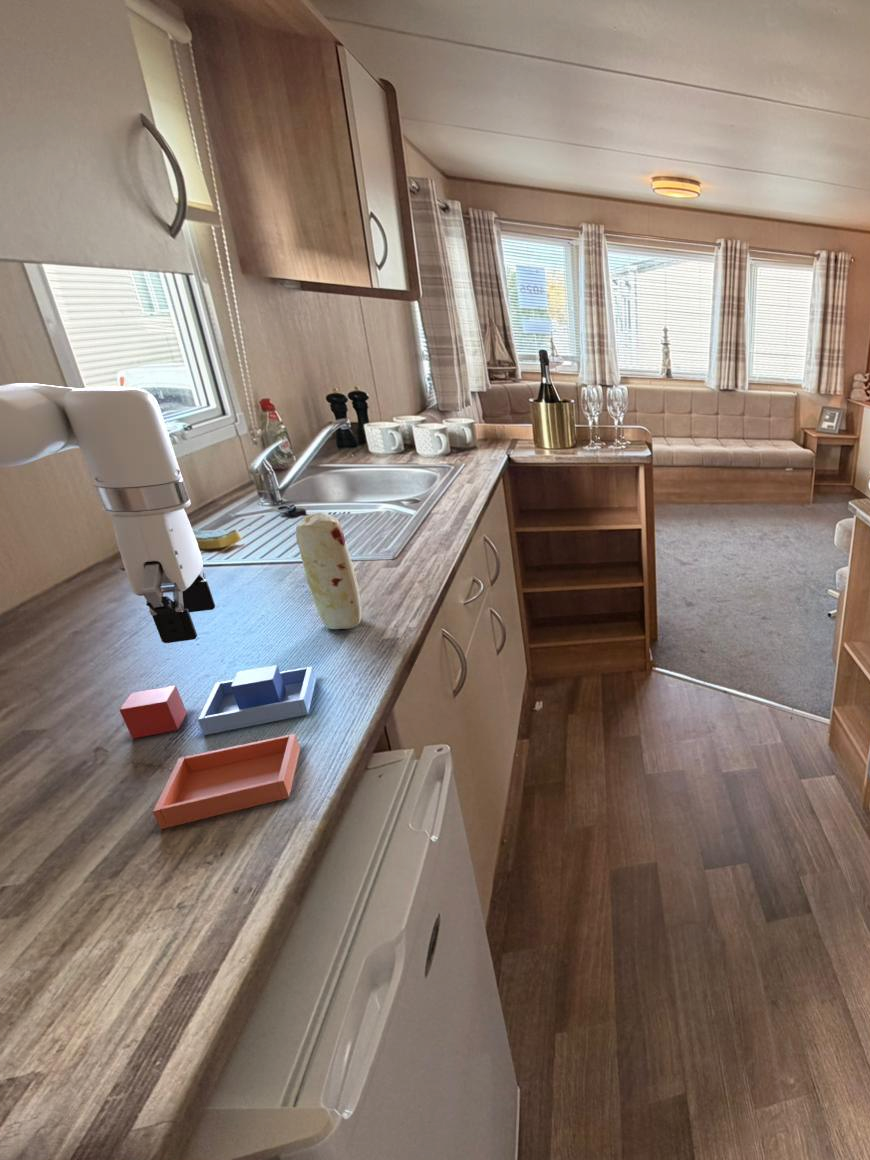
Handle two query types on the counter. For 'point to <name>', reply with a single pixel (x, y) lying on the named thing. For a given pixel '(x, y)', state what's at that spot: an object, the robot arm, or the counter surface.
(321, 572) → the food model
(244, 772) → the red tray
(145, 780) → the counter surface
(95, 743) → the counter surface
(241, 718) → the blue tray
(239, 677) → the blue block
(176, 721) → the red block
